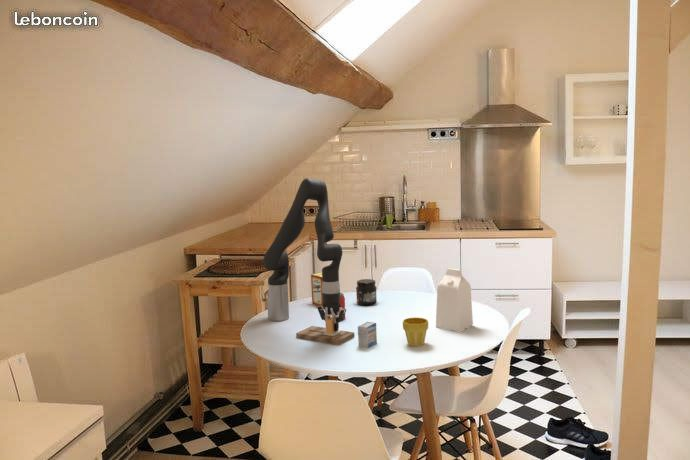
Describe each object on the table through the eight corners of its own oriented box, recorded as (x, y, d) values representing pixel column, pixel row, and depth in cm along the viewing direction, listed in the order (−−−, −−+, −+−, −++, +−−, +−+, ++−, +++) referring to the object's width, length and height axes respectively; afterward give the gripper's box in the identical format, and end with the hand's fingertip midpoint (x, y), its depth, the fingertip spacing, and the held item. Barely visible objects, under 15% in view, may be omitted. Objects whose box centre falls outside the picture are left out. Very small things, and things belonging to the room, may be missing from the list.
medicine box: (367, 348, 245) (367, 327, 244) (358, 346, 248) (357, 326, 246) (377, 342, 252) (376, 322, 251) (367, 341, 254) (367, 321, 253)
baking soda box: (333, 304, 314) (332, 274, 312) (323, 307, 310) (322, 276, 308) (322, 301, 321) (321, 271, 319) (312, 303, 317) (311, 273, 315)
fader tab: (323, 334, 257) (323, 319, 257) (331, 330, 262) (330, 315, 262) (333, 336, 255) (332, 320, 254) (341, 332, 260) (340, 317, 259)
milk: (472, 325, 271) (472, 268, 267) (458, 332, 262) (458, 273, 259) (450, 321, 279) (449, 265, 275) (435, 327, 271) (435, 269, 267)
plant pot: (402, 339, 254) (401, 317, 253) (427, 339, 254) (426, 316, 253) (404, 348, 244) (403, 324, 243) (429, 347, 244) (429, 324, 242)
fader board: (296, 337, 262) (296, 332, 261) (312, 330, 272) (312, 325, 272) (339, 345, 250) (339, 340, 250) (354, 337, 260) (354, 332, 260)
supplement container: (357, 301, 320) (357, 278, 318) (377, 301, 319) (377, 278, 317) (355, 306, 310) (354, 283, 308) (375, 306, 308) (375, 283, 307)
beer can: (343, 321, 284) (343, 296, 282) (330, 320, 285) (329, 295, 284) (346, 317, 291) (345, 292, 289) (333, 316, 292) (332, 292, 290)
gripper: (312, 291, 257) (313, 330, 259) (340, 294, 249) (341, 335, 252) (322, 287, 263) (323, 326, 265) (349, 290, 255) (351, 330, 258)
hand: (332, 330), depth 258 cm, fingers closed on fader tab, 3 cm apart
